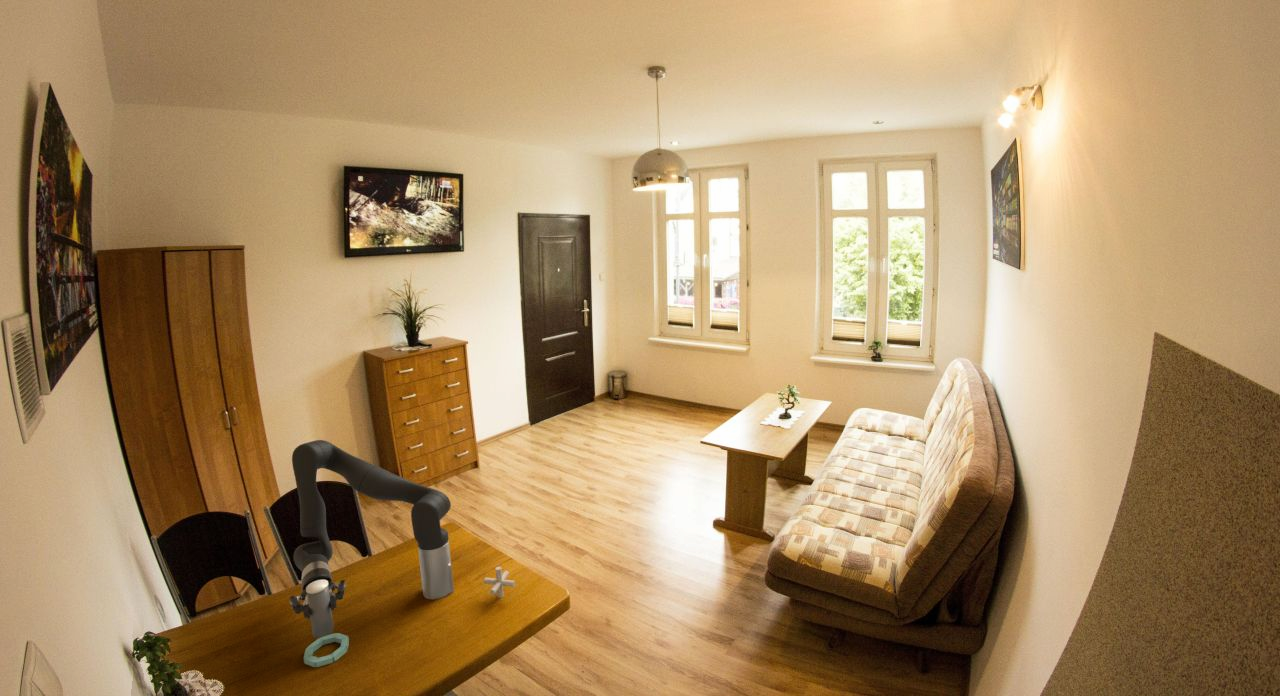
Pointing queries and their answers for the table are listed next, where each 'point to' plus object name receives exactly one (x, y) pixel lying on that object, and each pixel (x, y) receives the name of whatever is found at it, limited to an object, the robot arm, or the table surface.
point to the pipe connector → (499, 582)
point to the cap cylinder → (320, 608)
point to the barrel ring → (327, 659)
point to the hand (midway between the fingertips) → (320, 611)
